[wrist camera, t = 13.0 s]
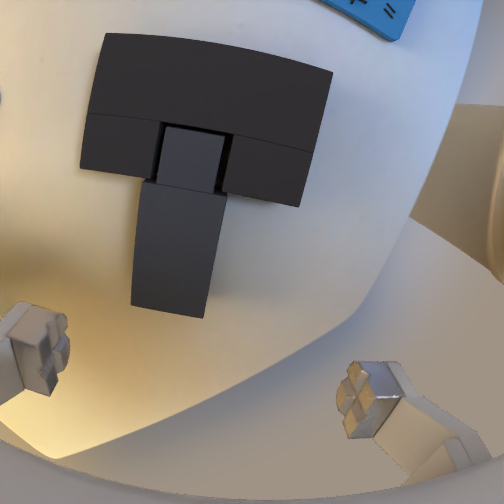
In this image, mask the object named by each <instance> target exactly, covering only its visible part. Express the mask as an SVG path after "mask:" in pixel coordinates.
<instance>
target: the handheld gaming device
mask: <svg viewBox="0 0 504 504" xmlns="http://www.w3.org/2000/svg"><path fill="white" fill-rule="evenodd" d="M320 1H322V2H324V3H326V4H328V5H330V6H332V7H333V8H335V9H337V10H339V11H341V12H343V13H344V14H346V15H348V16H350V17H351V18H353V19H355V20H357V21H358V22H360V23H362V24H363V25H365V26H367V27H368V28H370V29H371V30H373V31H375V32H376V33H378V34H379V35H381V36H382V37H384V38H385V39H387V40H388V41H391V42H393V41H396V40H398V39H399V38H400V36H401V34H402V31H403V29H404V27H405V24H406V22H407V20H408V17H409V15H410V13H411V10H412V8H413V5H414V3H415V1H416V0H320Z"/></svg>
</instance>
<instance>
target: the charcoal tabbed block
mask: <svg viewBox="0 0 504 504" xmlns="http://www.w3.org/2000/svg"><path fill="white" fill-rule="evenodd" d="M224 140H225V135H223V134H218V133H212V132H207V131H201V130H196V129H190V128H184V127H178V126H170V127H166V130H165V136H164V141H163V146H162V152H161V157H160V163H159V169H158V175H154V176H153V177H152V178H150V179H148V178H147V179H146V180H144V181H143V182H142V187H141V194H140V202H139V210H138V219H137V228H136V237H135V248H134V260H133V273H132V289H131V305H132V306H137V307H142V308H147V309H152V310H157V311H163V312H168V313H174V314H179V315H185V316H190V317H196V318H202V319H203V317H204V312H205V306H206V301H207V296H208V290H209V285H210V280H211V275H212V270H213V264H214V259H215V254H216V249H217V244H218V239H219V234H220V230H221V225H222V220H223V215H224V210H225V206H226V201H227V193H226V192H222V186H218V185H215V182H216V177H217V172H218V167H219V163H220V158H221V153H222V149H223V144H224Z"/></svg>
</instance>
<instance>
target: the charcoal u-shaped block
mask: <svg viewBox="0 0 504 504" xmlns="http://www.w3.org/2000/svg"><path fill="white" fill-rule="evenodd" d="M332 76H333V72H331V71H328V70H324V69H321V68H318V67H315V66H312V65H308V64H305V63H301V62H298V61H294V60H291V59H287V58H283V57H279V56H275V55H271V54H267V53H263V52H259V51H254V50H250V49H245V48H240V47H235V46H230V45H224V44H218V43H212V42H206V41H200V40H192V39H185V38H176V37H167V36H156V35H143V34H123V33H106V34H105V37H104V41H103V44H102V48H101V52H100V56H99V60H98V64H97V68H96V72H95V77H94V81H93V86H92V91H91V96H90V101H89V106H88V112H87V117H86V123H85V130H84V136H83V143H82V151H81V160H80V169H88V170H95V171H102V172H109V173H116V174H122V175H129V176H135V177H141V178H148V179H150V178H152V177H153V176H154V175H156V174H157V173H158V169H159V163H160V157H161V152H162V146H163V141H164V136H165V130H166V127H168V125H169V123H174V124H181V125H187V126H193V127H198V128H204V129H210V130H215V131H220V132H225V133H230V134H233V136H232V141H231V145H230V149H229V154H228V158H227V163H226V168H225V172H224V177H223V182H222V192H226V193H231V194H236V195H241V196H246V197H251V198H256V199H261V200H266V201H270V202H275V203H280V204H284V205H289V206H294V207H299V205H300V202H301V198H302V194H303V191H304V187H305V183H306V179H307V176H308V172H309V168H310V164H311V160H312V157H313V152H314V149H315V145H316V141H317V137H318V133H319V129H320V125H321V121H322V117H323V113H324V109H325V105H326V101H327V97H328V93H329V88H330V84H331V80H332Z"/></svg>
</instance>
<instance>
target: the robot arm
mask: <svg viewBox="0 0 504 504" xmlns="http://www.w3.org/2000/svg"><path fill="white" fill-rule="evenodd" d="M67 327H68V325H67V318H66V316H65V315H64V314H63V313H59V312H56V311H53V310H49V309H46V308H43V307H40V306H37V305H33V304H30V303H27V302H24V301H19V302H17V303H16V304H15V305H14V306H13V307H12V308H11V309H10V311H9V312H8V313H7V314H6V315H5V316H4V317H3V318H2V319H1V320H0V405H2V404H3V403H5V402H7V401H8V400H10V399H11V398H13V397H14V396H16V395H17V394H19V393H20V392H22V391H24V388H25V389H28V390H31V391H34V392H37V393H40V394H43V395H46V396H49V397H50V396H51V394H52V392H53V390H54V388H55V386H56V384H57V382H58V377H57V373H59V372H61V371H63V370H64V369H65V367H66V365H67V363H68V359H69V355H70V341H69V338H68V337H67V335H66V334H65V333H64V332H65V330H66V329H67ZM347 373H348V377H347V378H345V379H344V380H343V381H341V383H340V385H339V387H338V389H337V395H336V404H337V408H338V411H339V412H340V413H342V414H343V415H344V416H345V418H344V420H343V426H344V429H345V431H346V434H347V437H348V439H358V438H373V440H374V441H375V442H376V443H377V444H378V445H379V446H380V447H381V448H382V449H383V450H384V451H385V452H386V453H387V454H388V455H389V456H390V457H391V458H392V459H393V460H394V461H395V462H396V463H397V464H398V465H399V466H400V467H401V468H402V469H403V470H404V471H405V472H406V473H407V474H408V475H409V476H410V477H409V478H408V479H407V480H406V481H405V482H404V483H403V484H401V486H400V487H396V488H390V489H385V490H379V491H374V492H367V493H360V494H353V495H346V496H336V497H327V498H314V499H296V500H246V499H226V498H214V497H203V496H194V495H186V494H178V493H172V492H166V491H160V490H154V489H149V488H144V487H139V486H134V485H130V484H125V483H121V482H117V481H113V480H109V479H105V478H102V477H98V476H95V475H91V474H88V473H85V472H81V471H78V470H75V469H72V468H69V467H66V466H63V465H60V464H58V463H55V462H52V461H50V460H47V459H44V458H42V457H39V456H37V455H34V454H32V453H30V452H27V451H25V450H23V449H20V448H18V447H16V446H14V445H11V444H9V443H7V442H5V441H3V440H1V439H0V504H504V454H502V455H500V456H497V457H495V458H492V456H491V455H490V453H489V451H488V449H487V448H486V446H485V444H484V443H483V441H482V440H481V438H480V436H479V435H478V433H477V431H475V430H474V429H472V428H471V427H469V426H468V425H466V424H465V423H463V422H461V421H460V420H459V419H457V418H456V417H454V416H452V415H451V414H450V413H448V412H447V411H445V410H444V409H442V408H441V407H439V406H438V405H436V404H435V403H433V402H432V401H430V400H428V399H427V398H426V397H424V396H419V394H418V392H417V391H416V389H415V388H414V386H413V384H412V383H411V381H410V379H409V378H408V376H407V374H406V373H405V371H404V369H403V368H402V366H401V364H399V363H398V362H396V361H383V362H374V361H373V362H371V361H353V362H352V363H351V364H350V366H349V367H348V369H347Z"/></svg>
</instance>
